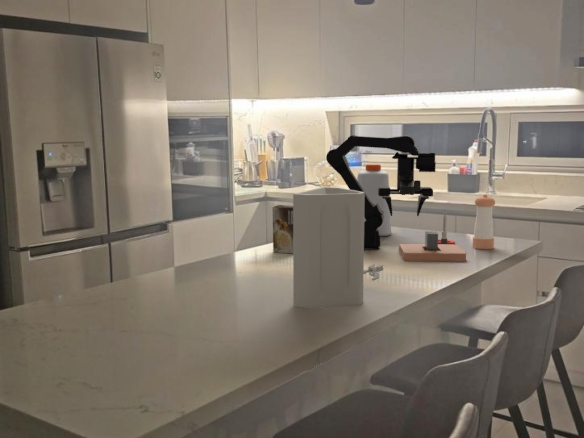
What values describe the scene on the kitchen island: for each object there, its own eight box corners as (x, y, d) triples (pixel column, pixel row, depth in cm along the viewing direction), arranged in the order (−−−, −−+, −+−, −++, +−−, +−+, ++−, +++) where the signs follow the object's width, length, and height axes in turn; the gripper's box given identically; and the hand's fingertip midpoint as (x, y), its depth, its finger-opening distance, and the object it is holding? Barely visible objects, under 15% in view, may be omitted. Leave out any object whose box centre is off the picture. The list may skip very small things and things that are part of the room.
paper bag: (348, 313, 158) (349, 197, 154) (292, 306, 165) (292, 194, 160) (374, 294, 175) (375, 189, 171) (322, 288, 182) (323, 186, 177)
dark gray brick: (426, 257, 222) (427, 233, 221) (424, 254, 227) (425, 231, 226) (437, 257, 222) (438, 234, 221) (435, 254, 227) (435, 231, 226)
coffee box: (303, 251, 233) (303, 205, 231) (296, 254, 227) (296, 208, 225) (279, 249, 237) (279, 204, 234) (272, 252, 231) (271, 206, 228)
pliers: (343, 272, 195) (363, 262, 208) (343, 277, 196) (363, 267, 209) (374, 276, 191) (392, 266, 203) (374, 281, 191) (392, 271, 204)
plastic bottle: (354, 229, 277) (355, 163, 273) (390, 230, 275) (392, 163, 271) (352, 236, 263) (353, 165, 258) (391, 237, 260) (392, 165, 256)
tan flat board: (404, 260, 217) (404, 253, 217) (398, 250, 233) (399, 243, 233) (465, 261, 216) (466, 253, 216) (456, 251, 232) (456, 244, 232)
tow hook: (431, 242, 252) (432, 245, 243) (432, 208, 251) (433, 210, 242) (453, 242, 251) (455, 246, 242) (454, 209, 250) (457, 211, 240)
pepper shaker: (496, 249, 236) (498, 195, 233) (475, 249, 236) (477, 195, 233) (490, 245, 243) (492, 193, 240) (470, 245, 243) (472, 193, 240)
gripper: (380, 173, 224) (379, 219, 227) (436, 173, 223) (434, 219, 226) (378, 171, 235) (377, 214, 238) (431, 171, 234) (429, 214, 237)
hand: (404, 215), depth 234 cm, fingers open, 9 cm apart
